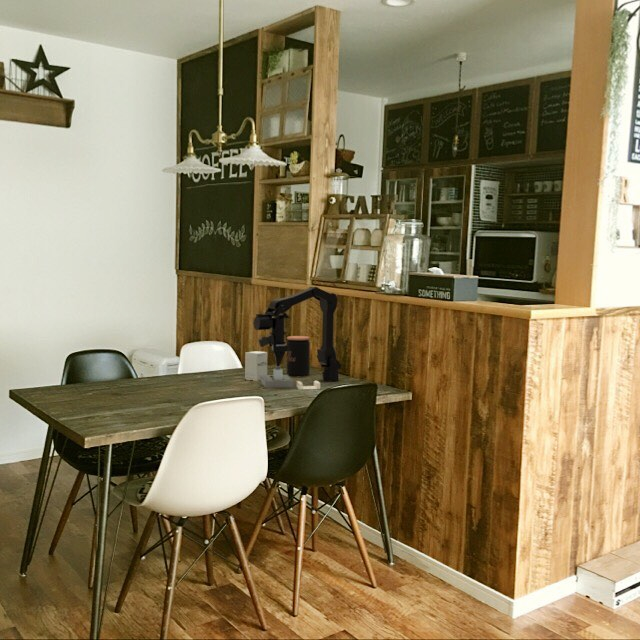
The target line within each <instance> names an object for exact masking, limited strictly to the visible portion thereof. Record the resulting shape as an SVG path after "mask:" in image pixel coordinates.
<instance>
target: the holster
mask: <svg viewBox="0 0 640 640" xmlns="http://www.w3.org/2000/svg"><path fill="white" fill-rule="evenodd" d="M295 384H296V386H295V387H296V388H297V389H298V390H320V389H321V382H320V381H318V380H313V385H304V384H303V382H302V381H300V380H296V381H295Z"/></svg>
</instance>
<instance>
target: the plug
mask: <svg viewBox="0 0 640 640" xmlns="http://www.w3.org/2000/svg"><path fill="white" fill-rule="evenodd" d="M272 369H273V371H272V372H273V373H272V375H273V380H283V375H284V374H283V368H281V366H277V365H275V368H272Z"/></svg>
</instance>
